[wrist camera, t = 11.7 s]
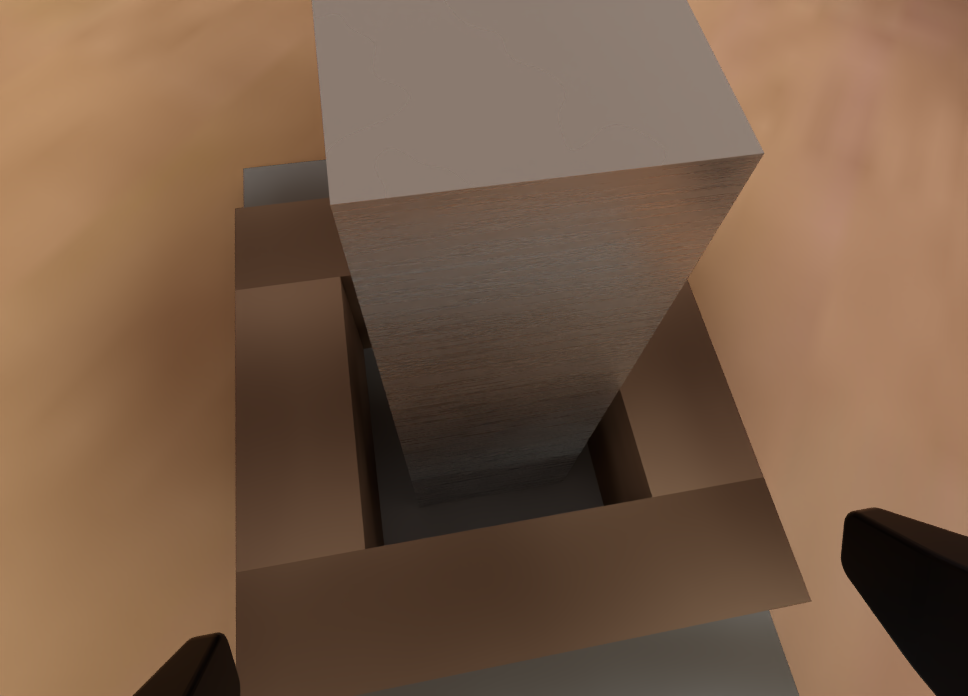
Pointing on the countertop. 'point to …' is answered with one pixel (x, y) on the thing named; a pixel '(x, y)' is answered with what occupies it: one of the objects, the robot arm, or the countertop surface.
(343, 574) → the slotted post block
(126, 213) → the countertop surface
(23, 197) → the countertop surface
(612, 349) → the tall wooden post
